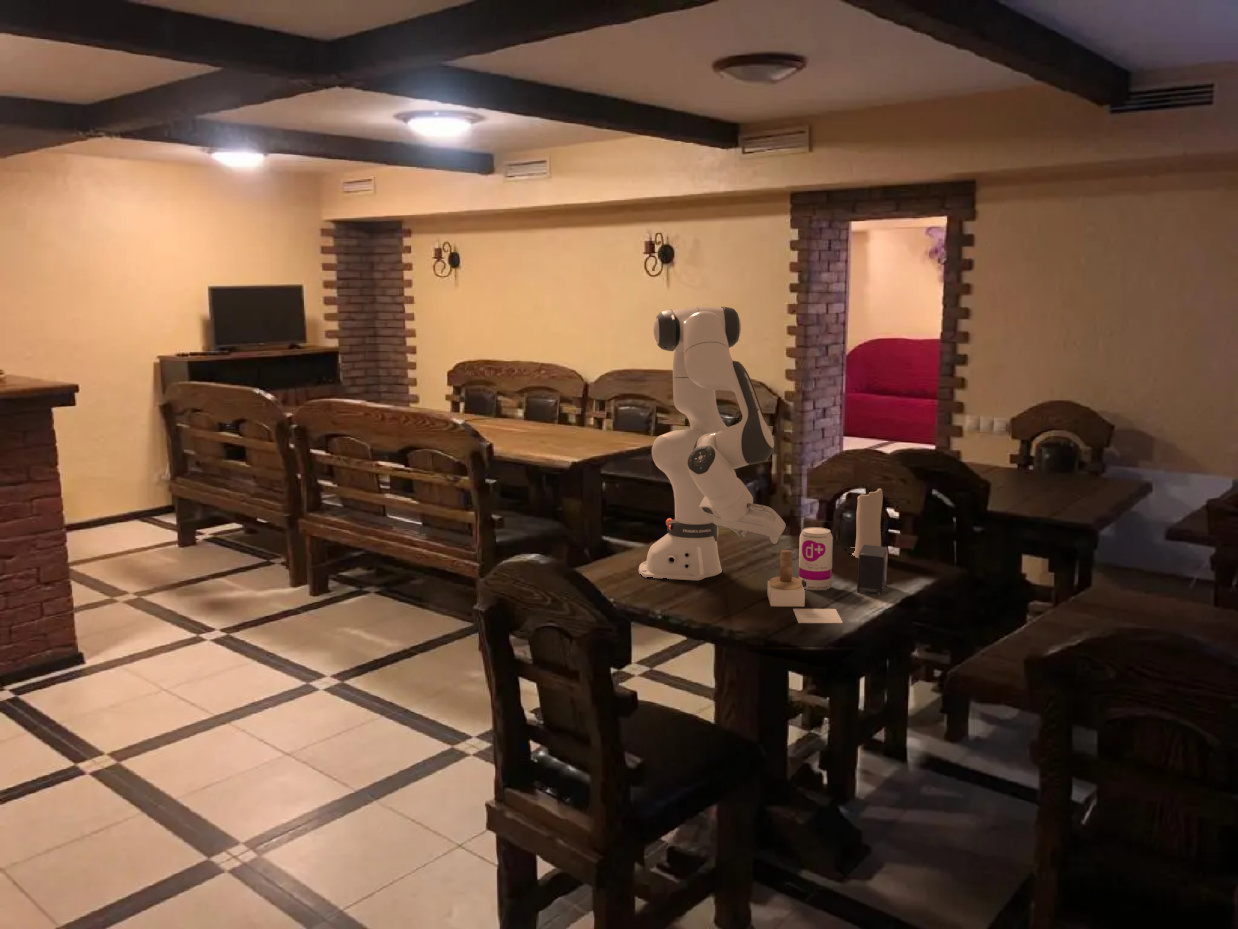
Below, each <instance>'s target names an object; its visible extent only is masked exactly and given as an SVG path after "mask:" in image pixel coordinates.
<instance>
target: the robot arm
mask: <svg viewBox="0 0 1238 929" xmlns="http://www.w3.org/2000/svg"><path fill="white" fill-rule="evenodd" d="M740 319H741V318H740V316H739V314H738V312H737V310H736V309H735V308H733V307H727V306H721V307H718V306H696V307H684V308H677V309H672V308H669V309H666V310H662V311H660V312H659V313H658V314H657V315H656V319H655V321H654V323H653V336H654V340H655V341H656V344H657V346H658V347H659V348H660V349H661V350H663V351H667V352H673V359H672V360H673V361H672V391H673V393H672V394H673V398H672V399H673V405H674V407H675V409H676V410H677V411H679V412H680V413H681V414H683V415H685V416H686V417H687V420H688V422H689V427H690V429H681V430H680V429H678V430H672V431H669V432H666V433H664V434H661V435H658V436H657V437H656V438H655V440H654V441H653V443H652V446H651V457H652V460H653V462H654V464H655V466H656V467H657V468H658V469H659V470H660V471H661V472H663V473H664V474H665V476H666V477H667V478H668V480H669V482H670V484H671V487H672V490H673V498H674V519H672V518H671V517H669V518H667V519H666V521H665V525H666V526H667V527H666V528H667V533H666V534H665V535H664V536H661V538H659V539H658V540H657V541H655V542H654V543H653V544H652V545H651V546H650V547H649V550H648V551H647V556H646V560H645V561H642V562H641V563H640V564H639V567H638V574H639V575H640V574H641V575H642V577H643V578H647V577H653V578H652V579H663V578H667V580H668V579H669V580H683V581H684V580H685V581H701V580H704V579H705V578H710V577H715V576H717V575H720V574H721V573H722V571H723V570H722V566H721V562H720V556H719V552H718V550H719V548H718V540H719V539H718V538H719V527H724V528H728V529H730V530H731V531H732V532H734V533H735V534H736V535H737V536H738V537H741V538H745V537H746V535H747V533H754V534H759V535H763V536H767V541H768V542H769V544H773V545H774V544H775V545H777V543H778V541H779V538H780V537H781V535H782V534H783V533H784V531H785V528H786V524H787V523H785V521H784V520H783V519H782V517H781V516H780V515H779V514H778V512H776V511H775V510H774V509H773V508H771V507H769V506H768V505H767V506H766V505H763V504H757V503H754V497H753V495H752V494H751V492H750V491H749V489H748V488H747V486H746V485H745V483H744V482H743V481H742V480H741V479H740V478H739V477H737V473H736V469H739V468H743V467H746V466H750V465H751V466H752V465H756V464H760V463H765V462H767V461H768V459H769V458H770V457H771V455H772V454H773V452H774V450H775V440H774V436H773V434H772V431H771V429H770V428H769V425H768V422H767V421H766V419H765V416H764V413H763V411H762V406H761V404H760V402H759V401H760V400H758V396H757V393H756V391H755V388H754V385H753V383H752V380H751V378H750V375H749V373H748V371H747V369H746V368H745V367H744V365H743V364H742V363H741V362H740V361H737V360H734V359H733V357H732V356H731V353H730V348H732V347H734V346H735V345H736V344H737V343H738V342H739V339H740V335H741V332H742V322H741V320H740ZM716 391H727V392H732V393H734V395H735V397H736V400H737V401H736V402H737V404H738V406H739V409H740V410H739V411H740V412H741V416H742V419H741V420H740V421H739V422H738V423H736V424H733V425H731V426H727V425H726V423H725V422H724V420H723V419H722V417H721V415H720V412H719V409H718V404H717V397H716ZM641 575H640V576H641Z"/></svg>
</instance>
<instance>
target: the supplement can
mask: <svg viewBox="0 0 1238 929" xmlns="http://www.w3.org/2000/svg"><path fill="white" fill-rule="evenodd" d="M833 536H834V535H832V533H831V529H828V528H826V527H825V528H824V527H817V526H814V527H812V526H811V527H805V528H803V529H802V530H801V533H800V535H799V545H798V546H799V547H798V548H799V550H798V553H799V554H798V578H799V579H801V580H802V585H803V587H804V589H806V590H805V591H828V590H829V589H830V588H832V583H833V582H832V581H833V551H834V550H833V548H834V546H833V545H834V544H833V542H834V541H833V540H834V538H833ZM827 589H828V590H827Z"/></svg>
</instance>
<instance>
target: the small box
mask: <svg viewBox="0 0 1238 929" xmlns="http://www.w3.org/2000/svg"><path fill="white" fill-rule="evenodd" d="M857 559H858V561H857V563H858V566H857V585H856V586H857V587H856V593H857V594H869V595H883V593H884V590H885V588H886V586H887V577H888V576H887V575H888V546H882V545H881V546H872V545H863V547H862V549H861V551H860V553H859V558H857Z"/></svg>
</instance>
